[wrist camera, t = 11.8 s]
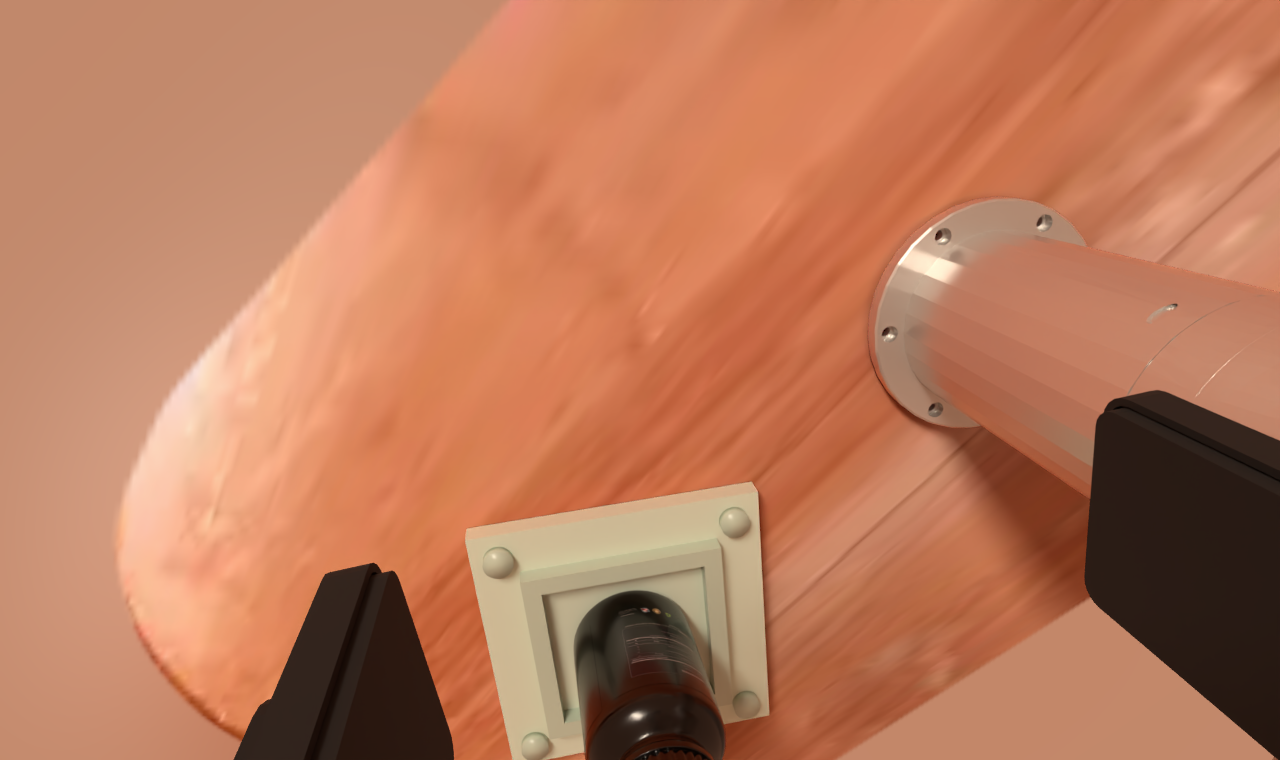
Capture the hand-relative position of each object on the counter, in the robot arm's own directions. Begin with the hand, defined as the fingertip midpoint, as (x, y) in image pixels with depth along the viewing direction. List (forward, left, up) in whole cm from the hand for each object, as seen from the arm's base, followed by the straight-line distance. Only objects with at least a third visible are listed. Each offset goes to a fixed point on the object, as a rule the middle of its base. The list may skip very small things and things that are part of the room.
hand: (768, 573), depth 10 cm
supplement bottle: (+1, +23, -27) cm, 35 cm away
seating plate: (+1, +23, -28) cm, 36 cm away
